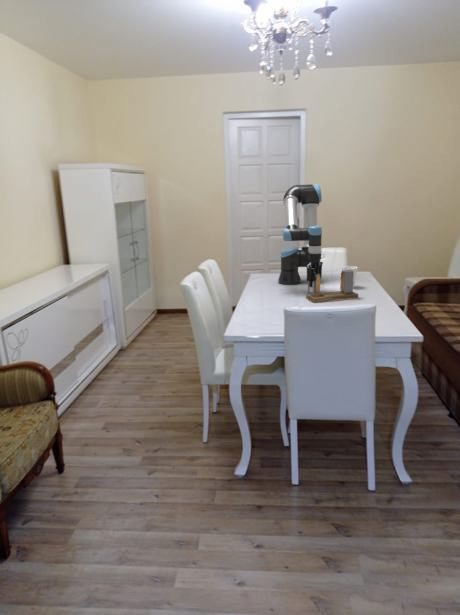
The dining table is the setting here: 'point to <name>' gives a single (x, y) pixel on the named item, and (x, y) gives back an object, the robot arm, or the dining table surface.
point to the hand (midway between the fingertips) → (313, 291)
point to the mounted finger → (347, 282)
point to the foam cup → (352, 268)
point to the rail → (330, 296)
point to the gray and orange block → (315, 284)
